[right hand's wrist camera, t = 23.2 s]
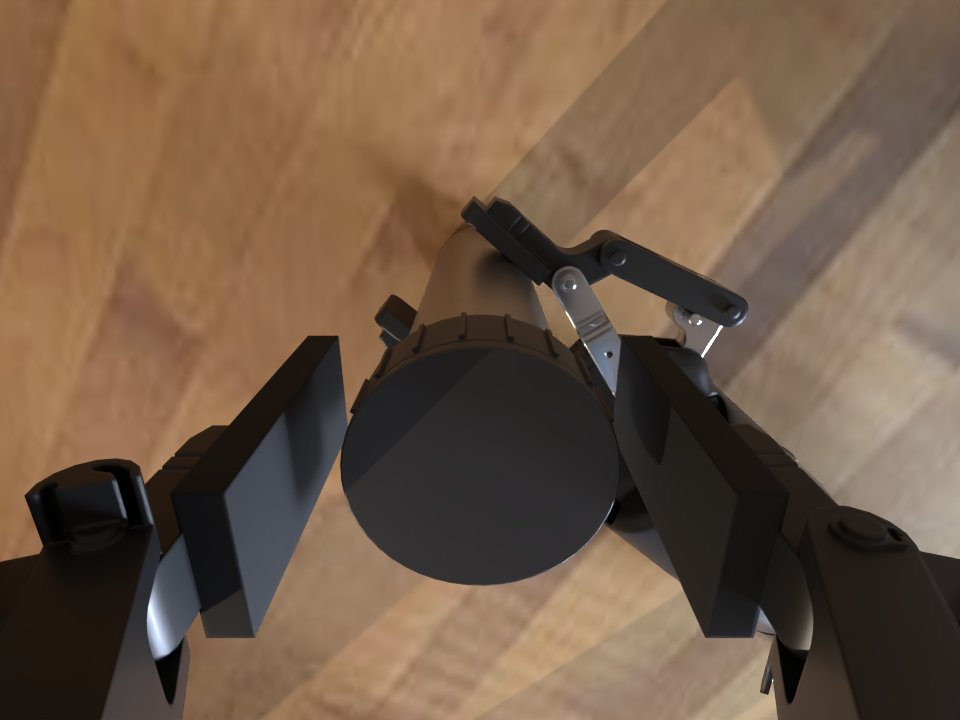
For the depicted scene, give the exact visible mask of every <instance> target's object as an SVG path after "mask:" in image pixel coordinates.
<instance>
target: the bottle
mask: <svg viewBox="0 0 960 720" xmlns="http://www.w3.org/2000/svg"><path fill="white" fill-rule="evenodd" d="M462 312H466V314H467V315H476V314H479V315H497V316H503V317H505V314H510V315H511V318H513V319H516V320H520V321H523V322H527V323H529V324H531V325H533V326H536V327H538V328H540V329H542V330H544V331H545V329H546V328H547V329H549V330H550V328H549V326H548V323H547V320H546V318H545V315H544V312H543V309H542V307H541V304H540V301H539V299H538V296H537V293H536V291H535V288H534V285H533V282H532V280H531V279H530V278H529V277H528V276H527V275H526V274H525V273H524V272H523V271H522V270H520V269H519V268H518V267H517V266H516V265H514V264H513V263H512V262H511V261H510V260H509V259H508V258H507V257H505V256H504V255H503V254H502V253H501V252H500V251H499V250H498V249H496V248H495V247H494V246H493V245H492V244H491V243H490V242H489V241H487V240H486V239H485V238H484V237H483V236H482V235H481V234H479V233H478V232H477V231H476V230H475V229H474V228H473V227H472V226H471V227H467V228H464V229H462V230H460V231H458V232H456V233H455V234H453V235H452V236H451V237H450V238H449V239H448V240H447V241H446V242H445V243H444V245H443V247H442V248H441V250H440V252H439V255H438V257H437V260H436V263H435V265H434V268H433V271H432V274H431V276H430V279H429V282H428V284H427V287H426V290H425V293H424V295H423V298H422V301H421V303H420V306H419V309H418V312H417V314H416V317H415V320H414V322H413V325H412V328H411V331H410V333H409V335H410V334H412V333H413V332H415V331H417V330H418V328H419V325H421V324H424V325H425V326H427V325H429V324H432V323H435V322H438V321H441V320H444V319H448V318H453V317H457V316H461V313H462Z"/></svg>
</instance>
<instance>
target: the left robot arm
mask: <svg viewBox="0 0 960 720" xmlns="http://www.w3.org/2000/svg"><path fill="white" fill-rule="evenodd" d="M461 216H462V217H463V219H464V220H465V221H466V222H467V223H468V224H469V225H470V226H472V227H473V228H474V229H475V230H476V231H477V232H478V233H479V234H481V235H482V236H483V237H484V238H485V239H486V240H487V241H489V242H490V243H491V244H492V245H493V246H494V247H495V248H496V249H498V250H499V251H500V252H501V253H502V254H503V255H504V256H505V257H507V258H508V259H509V260H510V261H511V262H512V263H513V264H514V265H516V266H517V267H518V268H519V269H520V270H522V271H523V272H524V273H525V274H526V275H527V276H528V277H529V278H530V279H531V280H533V281H534V282H535V283H536V284H537V285H538V286H539V285H540V284H541V283H542V282H544V283H545V284H547V285H548V286H549V287H550V288H551V289H552V290H553V291H554V293H555V295H556V297H557V298H558V300H559V302H560V304H561V305H562V307H563V309H564V310H565V312H566V314H567V315H568V317H569V319H570V321H571V322H572V324H573V326H574V327H575V329H576V331H577V333H578V335H579V336H580V338H579V339H578V340H577V341H576V342H575V343H574V344H573V345H572V346H571V347H570V348H569V349H570V351H571V352H572V353H573V354H574V355H575V356H577V355H578V354H579V355H580V356H581V357H582V359H583V361H584V363H585V365H586V368H587V370H588V372H589V374H590V376H591V378H592V380H593V382H594V387H595V388H598V387H599V389H600V391H601V393H602V395H603V397H604V399H605V401H606V403H607V405H608V408H609V410H610V412H611V414H612V416H613V415H614V405H615V395H616V385H617V376H618V366H619V356H620V346H621V337H622V336H635V335H623V334H617V333H616V331H615V329H614V327H613V326H612V324H611V322H610V321H609V319H608V317H607V316H606V314H605V312H604V311H603V309H602V307H601V305H600V303H599V302H598V300H597V298H596V296H595V294H594V293H593V291H592V289H591V287H590V285H592V284H594V283H596V282H597V281H599V280H601V279H603V278H605V277H607V276H609V275H611V274H612V275H615V276H617V277H619V278H621V279H623V280H625V281H627V282H630V283H632V284H634V285H636V286H638V287H640V288H642V289H645V290H647V291H649V292H651V293H653V294H655V295H657V296H660V297H662V298H664V299H666V300H668V301H667V303H666V307H665V311H666V314H667V316H668V317H669V318H670V319H671V320H672V321H673V322H674V323H675V324H676V325H677V327H678V336H677V338H676V339H670V338H658V337H653V338H654V339H655V340H656V341H657V342H658V343H659V344H660V346H661V347H662V348H663V349H664V350H665V351H666V352H667V354H668V355H669V356H670V357H671V358H672V359H673V360H674V361H675V363H676V364H677V365H678V366H679V367H680V368H681V369H682V371H683V372H684V373H685V374H686V375H687V376H688V377H689V378H690V380H691V381H692V382H693V383H694V384H695V385H696V386H697V387H698V389H699V390H700V391H701V392H702V393H703V394H704V395H705V397H706V398H707V399H708V400H709V401H710V402H711V403H712V404H713V406H714V407H715V408H716V409H717V410H718V411H719V412H720V414H721V415H722V416H723V417H724V418H725V419H726V420H727V421H728V423H729V424H749V425H751V426H753V427H755V428H756V429H758V430H760V431H762V432H763V433H765V434H767V433H766V432H765V431H764V430H763V429H762V428H761V427H759V426H758V425H757V424H756V423H755V422H754V421H753V420H752V419H751V418H750V417H749V416H748V415H746V414H745V413H744V412H743V411H742V410H741V409H740V408H739V407H738V406H737V405H736V404H735V403H733V402H732V401H731V400H730V399H729V398H728V397H727V396H726V395H725V394H724V393H723V392H722V391H720V390H719V389H718V388H717V387H716V386H715V385H714V384H713V382H712V381H711V378H710V375H709V369H708V366H707V363H706V361H705V360H704V358H703V356H704V354H705V353H706V351H707V350H708V348H709V346H710V345H711V343H712V342H713V340H714V339H715V337H716V336H717V334H718V333H719V331H720V330H721V328H722V326H724V327H733V326H736V325H738V324H740V323H741V322H742V321H743V320H744V319H745V318H746V316H747V313H748V304H747V302H746V300H745V299H744V298H742V297H740V296H739V295H737V294H735V293H734V292H732V291H730V290H729V289H727V288H725V287H724V286H722V285H720V284H719V283H717V282H715V281H713V280H711V279H709V278H707V277H705V276H703V275H701V274H699V273H697V272H695V271H693V270H691V269H688V268H686V267H684V266H682V265H680V264H678V263H676V262H674V261H672V260H670V259H668V258H666V257H664V256H661V255H659V254H657V253H655V252H653V251H651V250H649V249H647V248H645V247H643V246H641V245H639V244H636V243H634V242H632V241H630V240H628V239H626V238H624V237H622V236H620V235H618V234H616V233H614V232H611V231H609V230H600V231H597V232H596V233H594V234H593V235H592V236H591V238H590V239H589V240H587V241H585V242H583V243H581V244H579V245H578V246H575V247H572V248H562V247H559V246H557V245H556V244H554V243H553V242H552V241H551V240H550V239H549V238H548V237H547V236H546V235H544V234H543V233H542V232H541V231H540V230H539V229H538V228H537V227H536V226H535V225H534V224H532V223H531V222H530V221H529V220H528V219H527V218H526V217H525V216H524V215H523V214H522V213H520V212H519V211H518V210H517V209H516V208H515V207H514V206H513V205H512V204H511V203H510V202H508V201H506V200H503V199H500V198H498V197H494V198H493V199H492V201H491V202H490V203H489V204H488V205H487V206H486V205H484V204H483V203H482V202H481V201H480V200H479V199H477V198H476V197H475V196H474V197H473V198H472V199H471V200H470V202H469V203H468V204H467V205H466V206H465V207H464V209H463V210H462V212H461ZM416 314H417V311H416V310H414V309H413V308H412V307H411V306H409V305H408V304H407V303H406V302H404V301H403V300H402V299H401V298H399V297H398V296H396V295H391V296H390V297H389V298H388V299H387V300H386V302H385V303H384V304H383V305H382V306H381V308H380V309H379V311H378V313H377V314H376V316H375V321H376V322H377V324H378V325H379V326H380V327H381V328H382V329H383V331H382V333H381V335H380V336H379V338H380V339H381V341H382V342H383V344H384V346H385V347H386V349H387V348H388V347H390V348H391V349H393V348H394V347H395V346H396V345H397V344H398V343H399V342H400V341H402V340H403V339H405V338H406V337H407V336H409V333H410V331H411V328H412V325H413V322H414V320H415V317H416ZM612 424H613V422H612ZM767 435H768V434H767ZM780 447H781V448H782V449H783V450H784V451H785V452H786V455H789V456H790V457H791V458H792V459H793V460H794V461H795V462H796V463H797V464H798V468H802V469H803V470H804V471H805V472H806V473H807V474H808V475H809V476H810V477H811V478H812V479H813V480H814V481H815V482H816V483H817V484H818V485H819V486H820V487H821V488H822V489H823V490H824V491H825V492H826V493H827V494H828V495H829V496H830V497H831V495H830V494H829V493H828V492H827V490H826V489H825V488H824V487H823V486H822V485H821V484H820V483H819V481H818V480H817V479H816V478H815V477H814V476H813V475H812V474H811V473H809V472H808V471H807V470H806V469H805V468H804V467H803V466H802V465H801V464H800V463H799V462H798V460H797V459H796V458H795V457H794V455H793V454H792V453H791V452H790V451H788V450H787V449H785V448H784V447H782V446H780ZM619 452H620V479H619V485H618V490H617V494H616V497H615V500H614V503H613V506H612V508H611V510H610V512H609V514H608V516H607V518H606V520H605V521H604V523H603V524H605V525H606V526H607V527H609V528H610V529H611V530H612V531H614V532H615V533H616V534H618V535H619V536H620V537H622V538H623V539H624V540H625V541H627V542H628V543H629V544H631V545H632V546H633V547H635V548H636V549H637V550H639V551H640V552H641V553H642V554H644V555H645V556H646V557H648V558H649V559H650V560H652V561H653V562H654V563H655V564H657V565H658V566H659V567H661V568H662V569H663V570H665V571H666V572H667V573H669V574H670V575H671V576H673V577H674V578H675V579H677V580H678V581H679V578H678V576H677V574H676V572H675V570H674V567H673V565H672V563H671V561H670V559H669V556H668V554H667V552H666V550H665V548H664V545H663V543H662V541H661V539H660V537H659V534H658V532H657V530H656V528H655V526H654V523H653V521H652V519H651V517H650V514H649V512H648V510H647V508H646V506H645V503H644V501H643V499H642V497H641V495H640V492H639V490H638V488H637V486H636V484H635V481H634V479H633V477H632V475H631V473H630V470H629V468H628V466H627V464H626V462H625V459H624V457H623V455H622V453H621V451H620V448H619ZM831 498H832V497H831ZM832 499H833V498H832ZM833 500H834V499H833ZM679 582H680V581H679ZM755 633H756V634H757V635H759V636H760V637H761V638H762V639H764V640H765V641H766V642H768V643H769V644H770V645H772V642H773V638H774V635H775V631H774V629H773V627H772V626H771V624H770V622H769V621H768V619H767V617H766V616H765V614H764V612H763V611H762V609H761V611H760V615H759V618H758V622H757V626H756V630H755Z"/></svg>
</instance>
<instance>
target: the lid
mask: <svg viewBox="0 0 960 720" xmlns="http://www.w3.org/2000/svg"><path fill="white" fill-rule="evenodd" d="M350 413H353V416H352V419H351V421H350V423H349V426H348V428H347V431H346V433H345V437H344V441H343V445H342V450H341V462H340V468H341V481H342V486H343V490H344V494H345V498H346V500H347V503H348V505H349V508H350V511H351V512H352V514H353V516H354V518H355V520H356V521H357V523H358V525H359V526H360V527H361V529H362V530H363V531H364V533H365V534H366V535H367V537H368V538H369V539H370V540H371V541H372V542H373V543H374V544H375V545H376V546H377V547H378V548H379V549H380V550H382V551H383V552H384V553H385V554H387V555H388V556H389V557H390V558H392V559H393V560H395V561H397V562H398V563H400V564H401V565H403V566H405V567H407V568H409V569H411V570H413V571H415V572H417V573H419V574H422V575H425V576H428V577H430V578H433V579H437V580H441V581H445V582H449V583H456V584H463V585H498V584H505V583H511V582H517V581H520V580H524V579H527V578H531V577H534V576H536V575H539V574H541V573H544V572H546V571H548V570H550V569H552V568H554V567H556V566H558V565H560V564H561V563H563V562H565V561H566V560H567V559H569V558H570V557H572V556H573V555H575V554H576V553H577V552H578V551H579V550H580V549H582V548H583V547H584V546H585V545H586V544H587V543H588V542H589V541H590V540H591V539H592V537H593V536H594V535H595V534H596V533H597V532H598V530H599V529H600V527H601V526H602V524H603V523H604V521H605V520H606V518H607V516H608V514H609V512H610V510H611V508H612V506H613V503H614V500H615V497H616V494H617V490H618V485H619V479H620V452H619V446H618V441H617V437H616V434H615V431H614V428H613V425H612V422H614V418H613V416H612V414H611V412H610V410H609V408H608V405H607V403H606V401H605V399H604V397H603V395H602V393H601V391H600V389H599V387H598V388H595V387H594V382H593V380H592V378H591V376H590V374H589V372H588V370H587V368H586V365H585V363H584V361H583V359H582V357H581V356H580V355H579V354H578V355H577V356H575V355H574V354H573V353H572V352H571V351H570V349H569V348H568V347H566V346H565V345H564V344H563V343H562V342H560V341H559V340H558V339H557V338H555V337H554V336H553V335H552V333H551V330H549V329H547V328H546V329H545V331H544V330H542V329H540V328H538V327H536V326H533V325H531V324H529V323H527V322H523V321H520V320H516V319H513V318H511V315H510V314H505V317H503V316H497V315H479V314H476V315H467V314H466V312H462V313H461V316H457V317H453V318H448V319H444V320H441V321H438V322H435V323H432V324H429V325H427V326H425V325H424V324H421V325H419V328H418V330H417V331H415V332H413V333H412V334H410V335H409V336H407V337H406V338H405V339H403V340H402V341H400V342H399V343H398V344H397V345H396V346H395V347H394V348H393V349H391V348H390V347H388V348H387V349H386V350H385V353H384V355H383V357H382V359H381V361H380V363H379V364H378V366H377V368H376V369H375V371H374V373H373V374H372V376H371V378H370V380H368V379H365V381H364V383H363V385H362V387H361V389H360V392H359V394H358V396H357V398H356V400H355V402H354V404H353V406H352V408H351V410H350Z"/></svg>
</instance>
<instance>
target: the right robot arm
mask: <svg viewBox="0 0 960 720" xmlns="http://www.w3.org/2000/svg"><path fill="white" fill-rule="evenodd" d="M613 418H614V422H613V424H612V425H613V428H614V431H615V434H616V437H617V441H618V446H619V448H620V451H621V453H622V455H623V457H624V459H625V462H626V464H627V466H628V468H629V470H630V473H631V475H632V477H633V479H634V481H635V484H636V486H637V488H638V490H639V492H640V495H641V497H642V499H643V501H644V503H645V506H646V508H647V510H648V512H649V514H650V517H651V519H652V521H653V523H654V526H655V528H656V530H657V532H658V534H659V537H660V539H661V541H662V543H663V545H664V548H665V550H666V552H667V554H668V556H669V559H670V561H671V563H672V565H673V567H674V570H675V572H676V574H677V576H678V578H679V581H680V583H681V585H682V587H683V589H684V592H685V594H686V596H687V598H688V600H689V603H690V605H691V607H692V609H693V611H694V614H695V616H696V618H697V620H698V622H699V625H700V627H701V629H702V631H703V633H704V636H705V638H754V634H755V630H756V626H757V622H758V618H759V615H760V611H761V609H762V611H763V612H764V614H765V616H766V617H767V619H768V621H769V622H770V624H771V626H772V627H773V629H774V631H775V635H774V638H773V642H772V646H771V649H770V653H769V657H768V660H767V664H766V668H765V671H764V675H763V679H762V684H761V690H760V692H761V693H764V694H767V695H768V693H769V690H770V686H771V683H772V682H773V684H774V692H775V699H776V707H777V715H778V720H960V559H956V558H951V557H946V556H941V555H936V554H931V553H926V552H922V551H919V549H918V547H917V545H916V544H915V543H914V542H913V541H912V539H911V538H910V537H909V536H908V535H907V533H905V532H904V531H902V530H901V529H900V528H898V527H897V526H895V525H894V524H892V523H891V522H889V521H887V520H885V519H883V518H881V517H879V516H876V515H874V514H872V513H870V512H866V511H863V510H859V509H856V508H852V507H848V506H839V505H838V504H837V503H836V502H835V501H834V500H833V499H832V498H831V497H830V496H829V495H828V494H827V493H826V492H825V491H824V490H823V489H822V488H821V487H820V486H819V485H818V484H817V483H816V482H815V481H814V480H813V479H812V478H811V477H810V476H809V475H808V474H807V473H806V472H805V471H804V470H803V469H802V468H798V464H797V463H796V462H795V461H794V460H793V459H792V458H791V457H790V456H789V455H786V452H785V451H784V450H783V449H782V448H781V447H780V445H779V444H778V443H777V442H776V441H775V440H774V439H773V438H772V437H771V436H769V435H767V434H765V433H763V432H762V431H760V430H758V429H756V428H755V427H753V426H751V425H749V424H729V423H728V421H727V420H726V419H725V418H724V417H723V416H722V415H721V414H720V412H719V411H718V410H717V409H716V408H715V407H714V406H713V404H712V403H711V402H710V401H709V400H708V399H707V398H706V397H705V395H704V394H703V393H702V392H701V391H700V390H699V389H698V387H697V386H696V385H695V384H694V383H693V382H692V381H691V380H690V378H689V377H688V376H687V375H686V374H685V373H684V372H683V371H682V369H681V368H680V367H679V366H678V365H677V364H676V363H675V361H674V360H673V359H672V358H671V357H670V356H669V355H668V354H667V352H666V351H665V350H664V349H663V348H662V347H661V346H660V344H659V343H658V342H657V341H656V340H655V339H654V338H653V337H652V336H622V337H621V346H620V356H619V366H618V376H617V385H616V395H615V405H614V415H613ZM347 428H348V424H347V414H346V405H345V395H344V385H343V376H342V366H341V356H340V346H339V337H338V336H308V337H307V338H306V339H305V340H304V341H303V342H302V343H301V344H300V346H299V347H298V348H297V349H296V350H295V351H294V352H293V354H292V355H291V356H290V357H289V358H288V359H287V360H286V361H285V363H284V364H283V365H282V366H281V367H280V368H279V369H278V371H277V372H276V373H275V374H274V375H273V376H272V377H271V378H270V380H269V381H268V382H267V383H266V384H265V385H264V386H263V388H262V389H261V390H260V391H259V392H258V393H257V394H256V395H255V397H254V398H253V399H252V400H251V401H250V402H249V403H248V404H247V406H246V407H245V408H244V409H243V410H242V411H241V412H240V414H239V415H238V416H237V417H236V418H235V419H234V420H233V421H232V423H231V424H230V425H229V426H211V427H209V428H207V429H206V430H204V431H202V432H200V433H198V434H197V435H195V436H193V437H191V438H190V439H189V440H188V441H187V442H186V443H185V444H184V445H183V446H182V447H181V448H180V449H179V450H178V451H177V452H176V453H175V457H171V458H170V459H169V460H168V461H167V462H166V463H165V464H164V465H163V466H162V467H163V468H162V470H158V471H157V472H156V473H155V474H154V476H153V477H152V478H151V479H150V480H149V481H148V482H147V483H146V484H144V481H143V477H142V473H141V470H140V466H138V465H137V464H135V463H134V462H132V461H130V460H124V459H117V458H115V459H103V460H95V461H91V462H86V463H82V464H78V465H74V466H72V467H69V468H67V469H64V470H62V471H59V472H57V473H54V474H52V475H51V476H49V477H47V478H46V479H44V480H42V481H41V482H39V483H37V484H36V485H35V486H34V487H33V488H32V489H31V490H30V491H29V492H28V493H27V494H26V495H25V498H26V501H27V504H28V506H29V509H30V512H31V514H32V517H33V520H34V523H35V525H36V528H37V531H38V533H39V536H40V539H41V541H42V544H43V548H42V550H41V552H40V554H37V555H32V556H27V557H22V558H17V559H12V560H7V561H2V562H0V720H182V716H183V709H184V701H185V693H186V686H187V678H188V670H189V662H190V652H189V646H188V642H187V638H186V635H185V634H186V632H187V630H188V629H189V627H190V625H191V624H192V622H193V620H194V619H195V617H196V615H197V614H198V612H199V611H200V614H201V618H202V622H203V626H204V630H205V634H206V638H255V636H256V633H257V631H258V629H259V627H260V625H261V622H262V620H263V618H264V616H265V614H266V611H267V609H268V607H269V605H270V603H271V600H272V598H273V596H274V594H275V592H276V589H277V587H278V585H279V583H280V581H281V578H282V576H283V574H284V572H285V570H286V567H287V565H288V563H289V561H290V559H291V556H292V554H293V552H294V550H295V548H296V545H297V543H298V541H299V539H300V537H301V534H302V532H303V530H304V528H305V526H306V523H307V521H308V519H309V517H310V515H311V512H312V510H313V508H314V506H315V504H316V501H317V499H318V497H319V495H320V492H321V490H322V488H323V486H324V484H325V481H326V479H327V477H328V475H329V473H330V470H331V468H332V466H333V464H334V462H335V459H336V457H337V455H338V453H339V451H340V448H341V446H342V444H343V441H344V437H345V433H346V431H347Z"/></svg>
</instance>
